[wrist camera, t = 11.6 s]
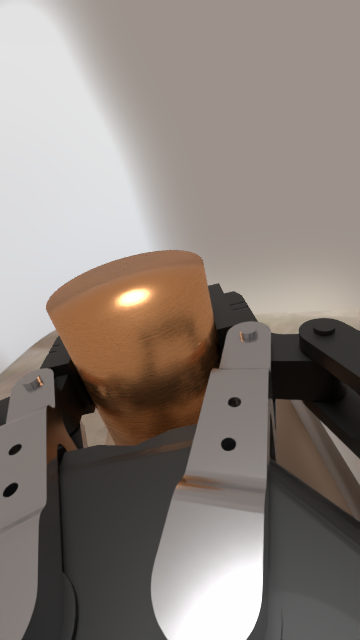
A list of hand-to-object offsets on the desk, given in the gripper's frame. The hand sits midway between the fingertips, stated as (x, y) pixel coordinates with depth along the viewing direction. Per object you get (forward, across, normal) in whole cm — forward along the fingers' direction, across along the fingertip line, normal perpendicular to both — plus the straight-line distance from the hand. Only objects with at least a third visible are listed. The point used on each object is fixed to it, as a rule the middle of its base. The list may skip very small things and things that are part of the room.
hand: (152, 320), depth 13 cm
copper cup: (-3, 0, +8) cm, 8 cm away
